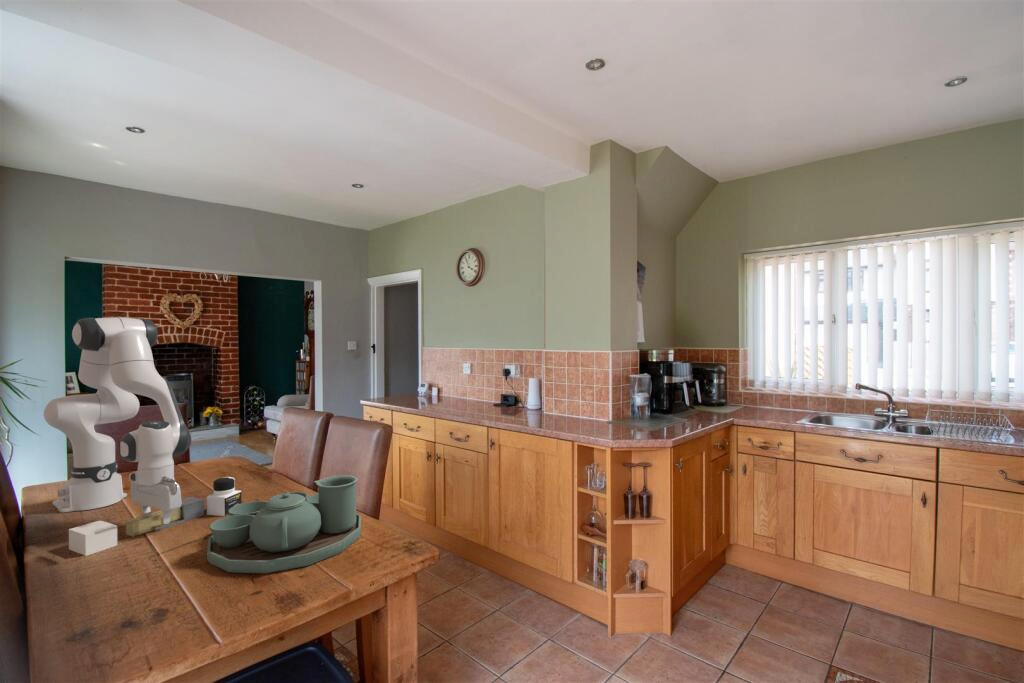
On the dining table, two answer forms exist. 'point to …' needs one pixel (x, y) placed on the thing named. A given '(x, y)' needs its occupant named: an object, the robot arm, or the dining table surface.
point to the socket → (92, 537)
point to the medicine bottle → (223, 497)
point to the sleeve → (187, 511)
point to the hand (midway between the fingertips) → (156, 520)
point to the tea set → (287, 529)
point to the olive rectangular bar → (149, 522)
